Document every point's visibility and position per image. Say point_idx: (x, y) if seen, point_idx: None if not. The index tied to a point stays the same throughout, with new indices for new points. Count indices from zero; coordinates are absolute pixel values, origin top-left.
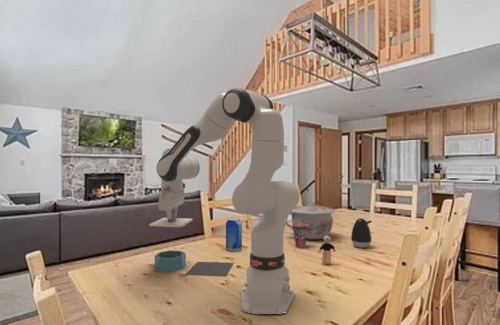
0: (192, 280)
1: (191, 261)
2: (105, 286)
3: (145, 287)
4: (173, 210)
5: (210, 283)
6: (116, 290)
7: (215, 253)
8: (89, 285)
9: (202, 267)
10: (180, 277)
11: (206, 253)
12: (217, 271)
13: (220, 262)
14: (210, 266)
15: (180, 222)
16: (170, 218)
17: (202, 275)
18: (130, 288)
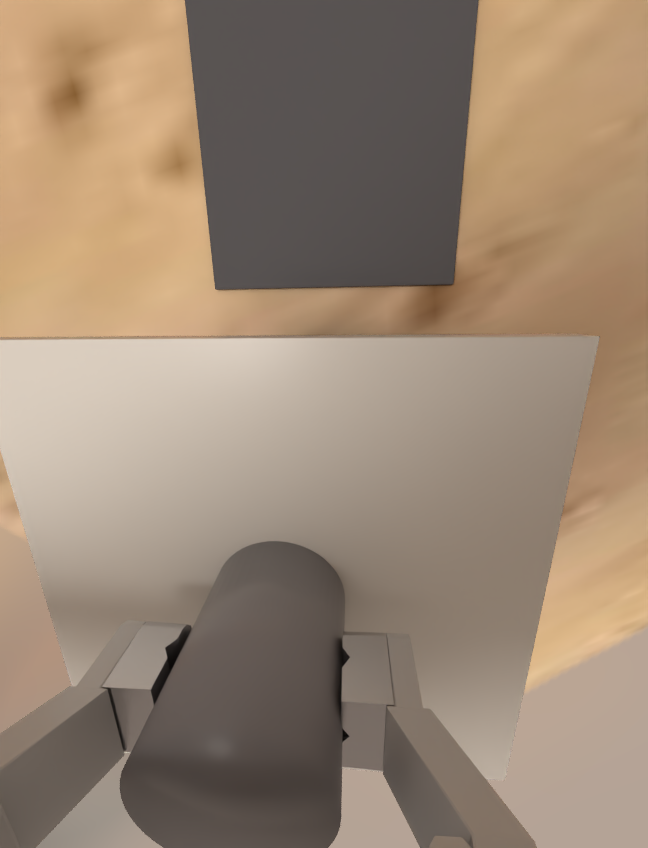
0: (521, 209)
1: (203, 335)
2: (579, 587)
3: (608, 427)
4: (154, 792)
5: (580, 58)
6: (631, 530)
7: (11, 227)
8: (562, 643)
9: (316, 214)
10: (472, 302)
11: (33, 292)
12: (381, 69)
13: (197, 110)
14: (290, 162)
15: (350, 442)
16: (409, 642)
17: (462, 160)
18: (613, 486)
